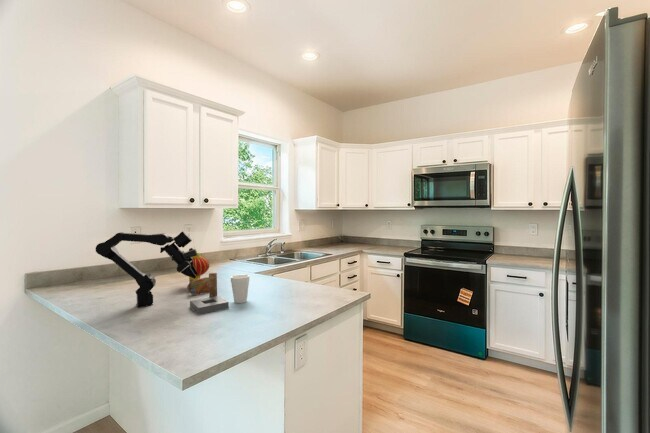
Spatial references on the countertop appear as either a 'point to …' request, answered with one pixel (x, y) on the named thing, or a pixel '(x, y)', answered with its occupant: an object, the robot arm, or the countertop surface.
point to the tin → (199, 286)
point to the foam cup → (240, 287)
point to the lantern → (199, 266)
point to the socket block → (209, 304)
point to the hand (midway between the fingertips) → (196, 275)
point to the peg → (212, 284)
